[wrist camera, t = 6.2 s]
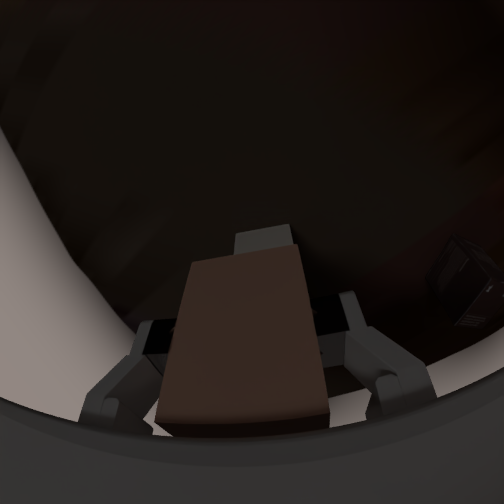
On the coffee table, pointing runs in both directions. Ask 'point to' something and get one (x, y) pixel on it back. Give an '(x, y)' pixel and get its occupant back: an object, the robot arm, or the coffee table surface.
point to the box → (467, 283)
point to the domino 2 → (244, 351)
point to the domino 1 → (263, 239)
